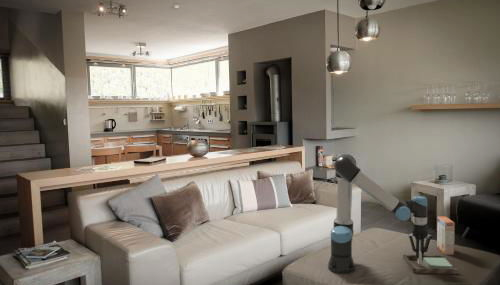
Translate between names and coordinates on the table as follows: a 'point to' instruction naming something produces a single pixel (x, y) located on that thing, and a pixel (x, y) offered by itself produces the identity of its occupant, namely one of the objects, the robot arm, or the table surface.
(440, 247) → the cracker box
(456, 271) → the slide box
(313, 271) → the table surface
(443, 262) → the cover plate
